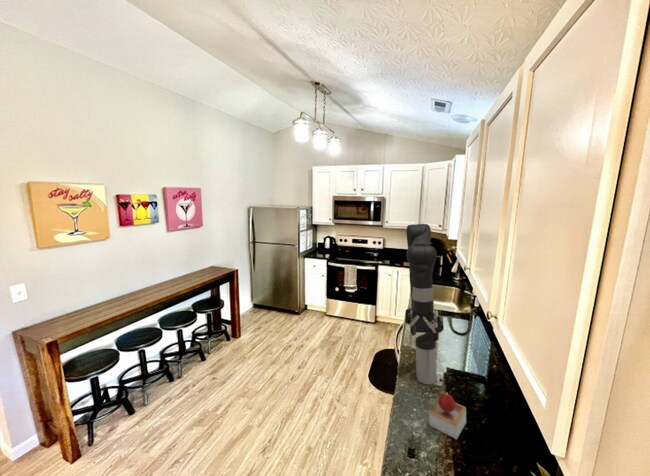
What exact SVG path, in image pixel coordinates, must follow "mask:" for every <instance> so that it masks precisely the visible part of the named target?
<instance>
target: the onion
mask: <svg viewBox="0 0 650 476" xmlns="http://www.w3.org/2000/svg"><path fill="white" fill-rule="evenodd" d="M439 396H440V397H439ZM439 396H438V397H439V406H440V407H441V409H442V410H444V411H445V412H447V413H448V412H451V411H453V410H454V408H455V403H456V402H455V399H454V398H453V397H452V395H450V394H449V393H448V392H445V393H442V394H440V395H439Z"/></svg>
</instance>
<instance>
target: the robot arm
mask: <svg viewBox="0 0 650 476" xmlns="http://www.w3.org/2000/svg"><path fill="white" fill-rule="evenodd" d="M431 229H432V228H431V227H430V225H429V224H427V223H418V224H408V225H407V226H406V233H405V234H406V242H407V252H406V260H407V261H408V267H409V269H408V271H409V273H408V274H409V275H408V276H409V285H410V301H411V302H410V307H408V308H407V309H405V324H406V325H409V326H410V327H409V329H410V334H411V336H413V337H414V336H416V335H417V333H422V334H420V335H418V336H417V337H415V341H414V342H415V367H416V369H415V372H416V373H415V374H416V379H417V381H418V382H419V383H422V384H424V385H434V384H436V383H437V381H438V378H437V377H438V376H437V368H438V367H437V341H438V340H439V334H440V333H442V332H443V331H444V330H445V328H444V319H443V318H444V316H443V315H442V314H439V315H437V314H435V313H434V311H435V310H434V304H435V303H434V288H433V272H434V267H435V263H436V262H437V261H436V260H437V256H438V252H437V249H436V248H435V247H434V246H431V244H430V243H431V240H432V230H431Z"/></svg>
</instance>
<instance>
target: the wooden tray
mask: <svg viewBox="0 0 650 476" xmlns="http://www.w3.org/2000/svg"><path fill="white" fill-rule="evenodd" d="M440 396H441V395H439V396H438V398H437V399H436V400H435V402H434V403H433V404H432V406H430V408H429V410H428V415H429V416H428V417H429V423H428V424H429V426H430V427H432V428H434V429H436V430H437V431H439V432H441V433H443V434H446V435H447V436H449V437H451V438H453V439H455V440H458V438H459V436H460V434H461V433H462V431H463V429H464V427H465V426H466V425H467V407H466V406H464V405H462V404H459V403H457V402H455V408H454V410H453V411H451V412H448V413H447V412H445V411H444V410H442V409H441V407H440V406H439V397H440Z"/></svg>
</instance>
